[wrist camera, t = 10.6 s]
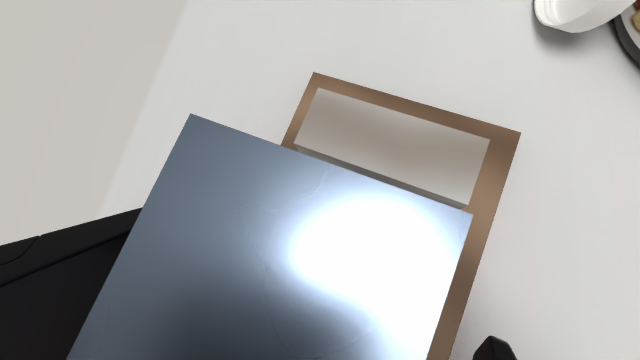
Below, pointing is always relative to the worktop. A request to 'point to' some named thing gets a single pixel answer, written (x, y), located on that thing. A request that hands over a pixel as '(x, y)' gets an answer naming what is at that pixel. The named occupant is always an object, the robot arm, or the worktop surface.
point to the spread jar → (594, 18)
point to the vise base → (477, 199)
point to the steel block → (273, 261)
